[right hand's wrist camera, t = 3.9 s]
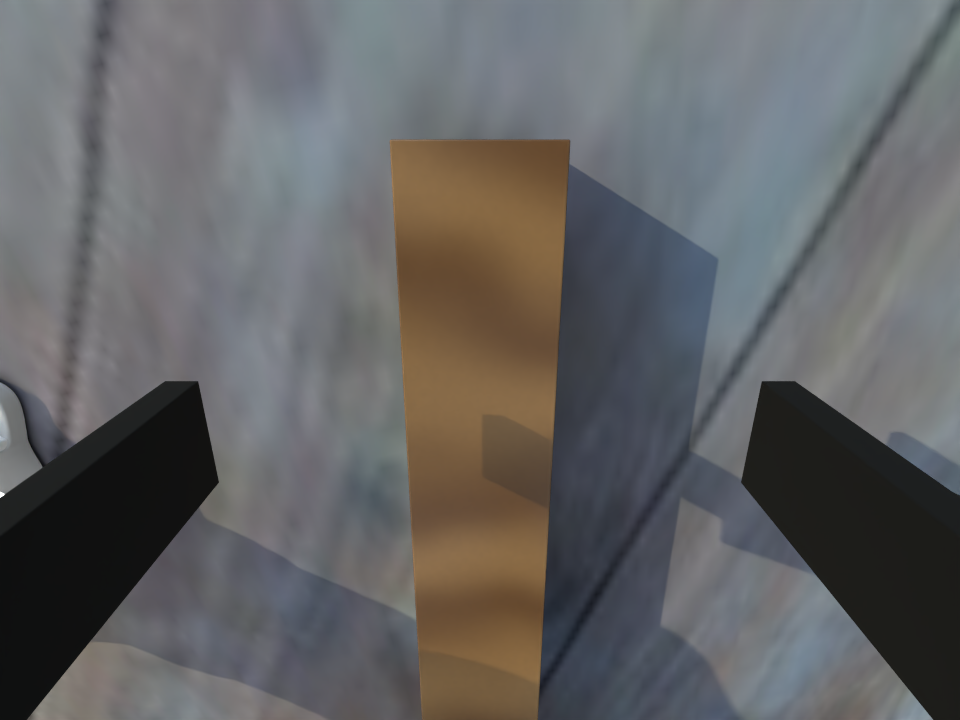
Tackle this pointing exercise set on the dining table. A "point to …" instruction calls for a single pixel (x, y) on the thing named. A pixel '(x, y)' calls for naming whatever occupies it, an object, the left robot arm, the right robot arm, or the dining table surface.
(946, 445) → the dining table surface
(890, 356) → the dining table surface
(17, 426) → the left robot arm
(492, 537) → the bar
